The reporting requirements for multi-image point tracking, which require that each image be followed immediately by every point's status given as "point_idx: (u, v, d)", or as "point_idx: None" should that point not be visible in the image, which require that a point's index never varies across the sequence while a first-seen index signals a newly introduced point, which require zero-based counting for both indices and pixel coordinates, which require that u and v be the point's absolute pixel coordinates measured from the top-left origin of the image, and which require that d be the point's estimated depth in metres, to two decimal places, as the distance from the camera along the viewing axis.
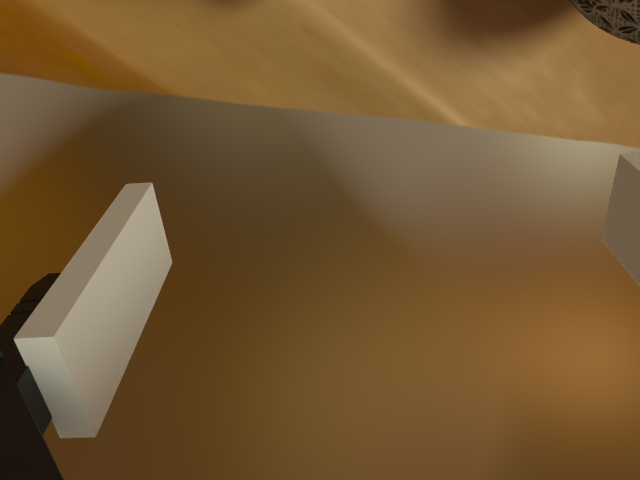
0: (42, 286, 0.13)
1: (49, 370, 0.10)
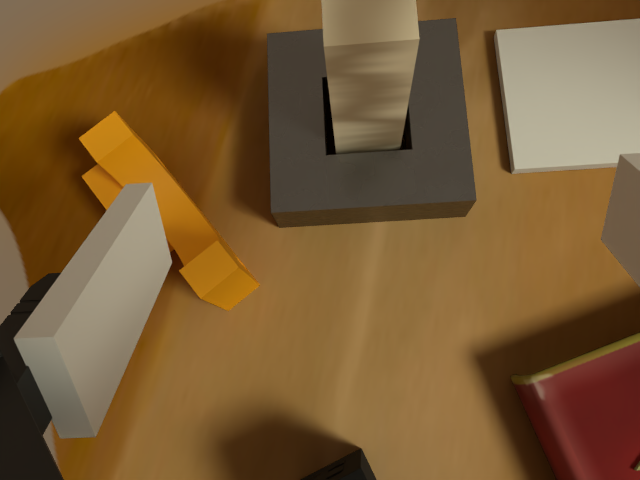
0: (42, 286, 0.13)
1: (49, 370, 0.10)
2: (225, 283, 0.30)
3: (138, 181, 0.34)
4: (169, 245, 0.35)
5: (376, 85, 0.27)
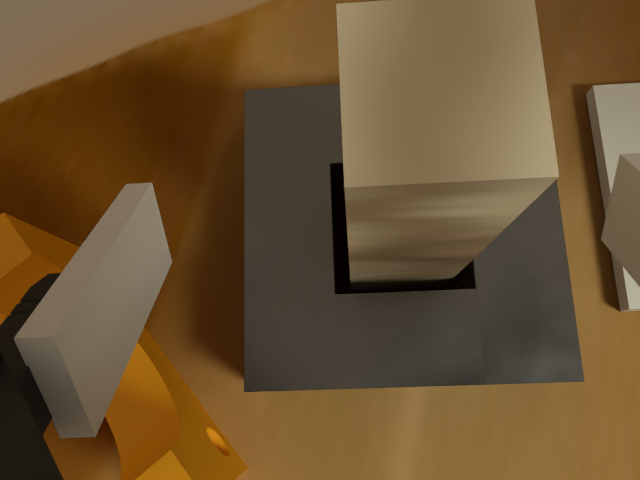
0: (42, 286, 0.13)
1: (48, 370, 0.10)
2: None
3: None
4: None
5: (438, 228, 0.14)
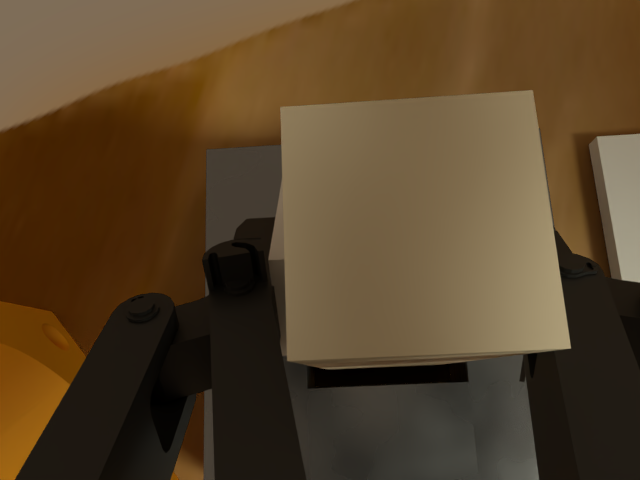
0: (247, 228, 0.14)
1: None
2: None
3: (4, 399, 0.18)
4: None
5: (419, 360, 0.11)
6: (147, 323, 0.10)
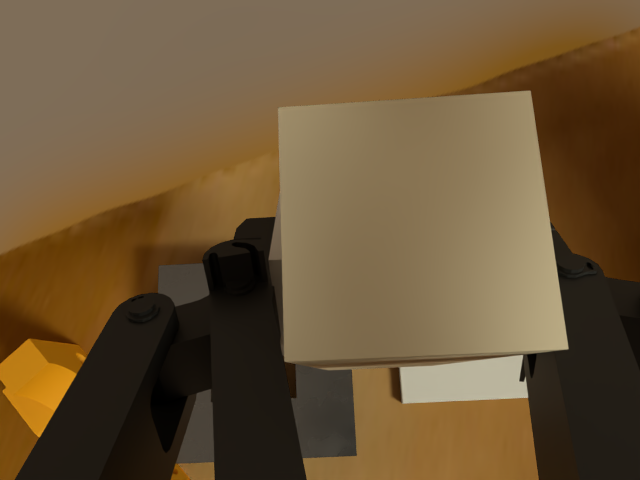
0: (247, 228, 0.14)
1: None
2: None
3: (59, 396, 0.34)
4: None
5: None
6: (147, 323, 0.10)
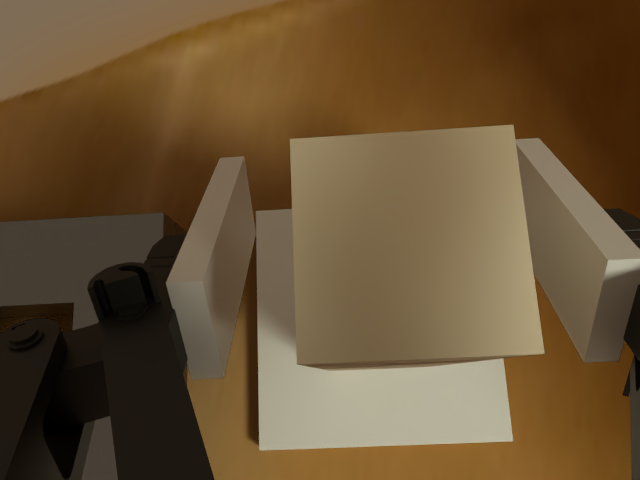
0: (163, 246, 0.14)
1: (192, 313, 0.12)
2: None
3: None
4: None
5: None
6: (31, 349, 0.10)
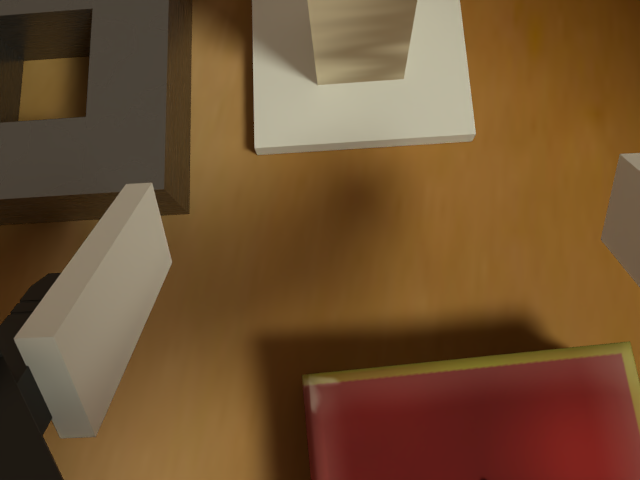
0: (43, 286, 0.13)
1: (48, 370, 0.10)
2: None
3: None
4: None
5: None
6: None
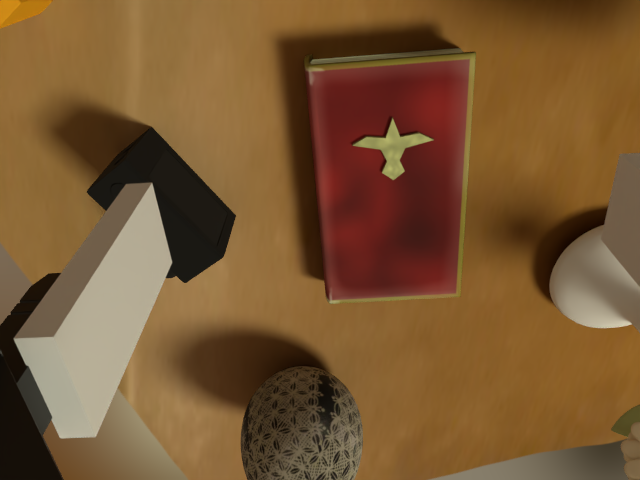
0: (42, 286, 0.13)
1: (48, 370, 0.10)
2: (16, 12, 0.35)
3: None
4: None
5: None
6: None
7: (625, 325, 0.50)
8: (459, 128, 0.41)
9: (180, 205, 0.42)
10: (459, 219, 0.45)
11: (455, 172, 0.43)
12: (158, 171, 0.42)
